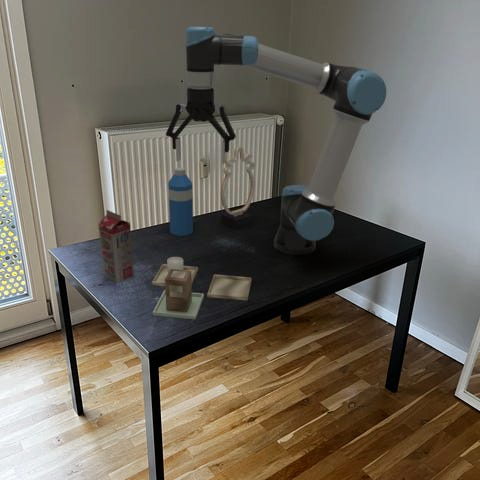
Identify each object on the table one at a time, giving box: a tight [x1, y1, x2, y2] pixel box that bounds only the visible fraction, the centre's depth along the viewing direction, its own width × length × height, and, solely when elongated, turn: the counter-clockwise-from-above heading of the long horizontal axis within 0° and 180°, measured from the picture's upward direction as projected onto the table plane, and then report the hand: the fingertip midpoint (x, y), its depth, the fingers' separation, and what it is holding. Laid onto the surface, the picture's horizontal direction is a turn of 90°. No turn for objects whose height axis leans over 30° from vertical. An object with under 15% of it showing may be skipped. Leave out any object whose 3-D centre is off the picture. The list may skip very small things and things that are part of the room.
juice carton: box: [98, 209, 135, 284], centre depth 147 cm, size 7×7×22 cm
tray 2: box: [152, 289, 205, 320], centre depth 136 cm, size 12×12×2 cm
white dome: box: [166, 256, 184, 273], centre depth 150 cm, size 5×5×6 cm
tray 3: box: [206, 274, 253, 301], centre depth 146 cm, size 12×12×2 cm
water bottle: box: [167, 167, 194, 237], centre depth 181 cm, size 9×9×25 cm
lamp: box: [220, 146, 256, 230], centre depth 188 cm, size 17×9×32 cm, turn 132°
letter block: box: [164, 269, 193, 312], centre depth 134 cm, size 6×6×10 cm
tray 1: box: [151, 263, 199, 287], centre depth 151 cm, size 12×12×2 cm
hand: (201, 161), depth 142 cm, fingers open, 13 cm apart
